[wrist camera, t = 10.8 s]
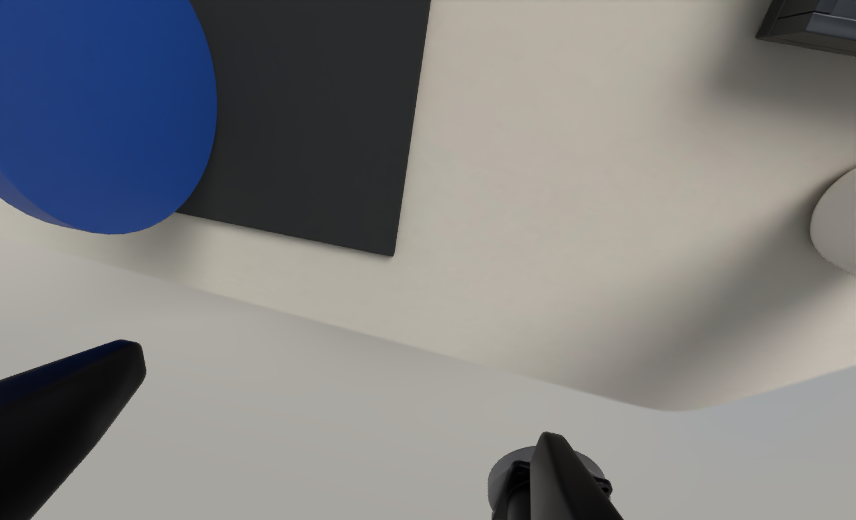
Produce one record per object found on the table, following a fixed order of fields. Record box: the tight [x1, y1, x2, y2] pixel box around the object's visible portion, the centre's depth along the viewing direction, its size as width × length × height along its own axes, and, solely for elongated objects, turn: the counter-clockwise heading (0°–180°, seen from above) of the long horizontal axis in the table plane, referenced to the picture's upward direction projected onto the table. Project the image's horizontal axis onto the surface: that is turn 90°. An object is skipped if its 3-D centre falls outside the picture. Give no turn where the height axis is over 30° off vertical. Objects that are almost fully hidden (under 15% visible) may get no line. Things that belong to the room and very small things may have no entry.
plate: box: [0, 0, 217, 235], centre depth 14 cm, size 1×10×10 cm, turn 170°
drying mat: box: [175, 0, 431, 257], centre depth 19 cm, size 13×20×1 cm, turn 80°
